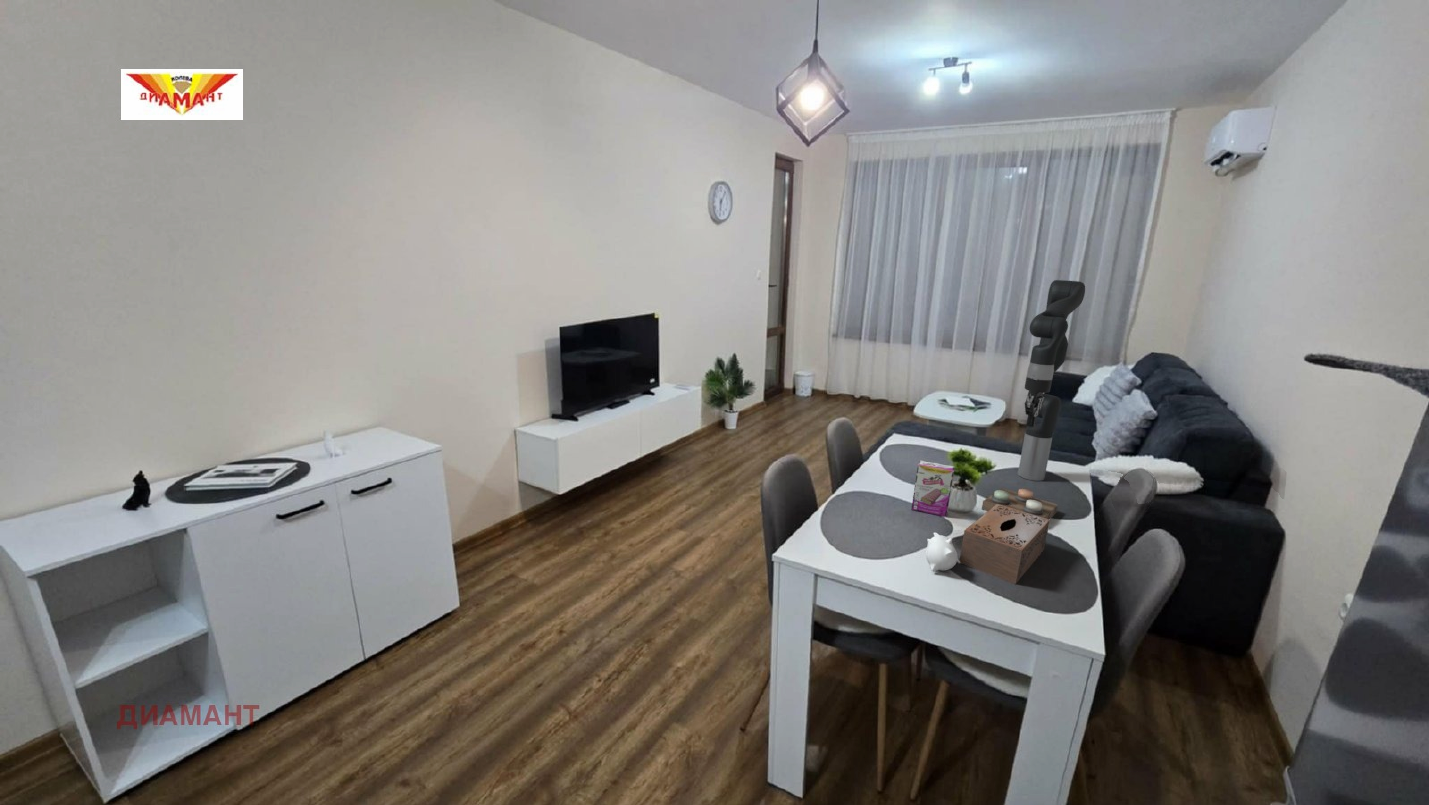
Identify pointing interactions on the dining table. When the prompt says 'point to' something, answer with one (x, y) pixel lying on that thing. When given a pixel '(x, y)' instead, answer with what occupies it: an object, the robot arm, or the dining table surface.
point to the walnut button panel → (1021, 505)
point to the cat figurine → (941, 553)
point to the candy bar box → (932, 488)
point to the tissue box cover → (1004, 542)
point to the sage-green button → (1001, 495)
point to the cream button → (1033, 505)
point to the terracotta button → (1025, 494)
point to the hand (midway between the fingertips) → (1030, 426)
